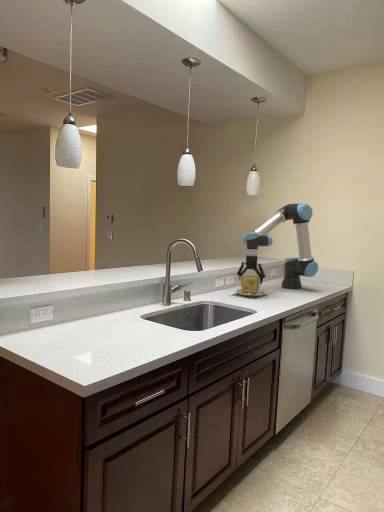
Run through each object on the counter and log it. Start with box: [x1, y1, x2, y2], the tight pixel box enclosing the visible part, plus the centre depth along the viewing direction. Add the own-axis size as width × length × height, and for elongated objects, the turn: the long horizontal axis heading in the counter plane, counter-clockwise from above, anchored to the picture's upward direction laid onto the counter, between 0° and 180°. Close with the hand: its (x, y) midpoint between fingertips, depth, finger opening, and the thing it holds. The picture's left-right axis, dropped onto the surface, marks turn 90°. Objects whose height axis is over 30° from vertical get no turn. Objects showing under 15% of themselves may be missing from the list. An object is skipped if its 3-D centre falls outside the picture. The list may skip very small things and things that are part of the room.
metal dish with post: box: [236, 288, 265, 297], centre depth 263 cm, size 18×18×9 cm
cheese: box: [240, 274, 260, 294], centre depth 259 cm, size 10×11×10 cm
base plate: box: [231, 292, 269, 300], centre depth 264 cm, size 19×18×1 cm
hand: (250, 287), depth 259 cm, fingers open, 13 cm apart
